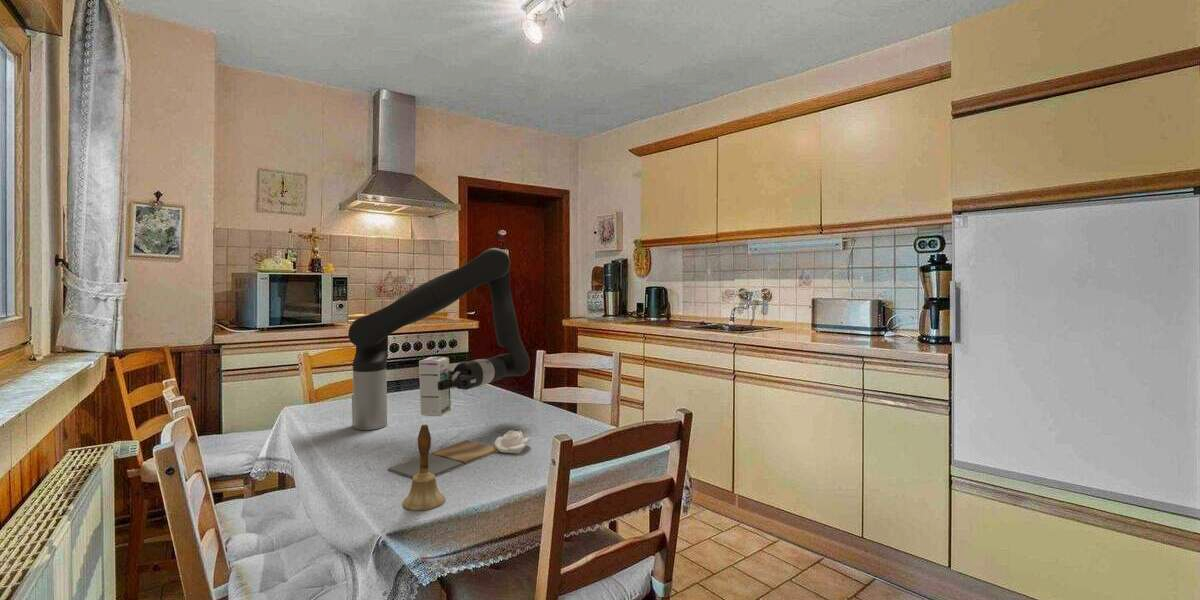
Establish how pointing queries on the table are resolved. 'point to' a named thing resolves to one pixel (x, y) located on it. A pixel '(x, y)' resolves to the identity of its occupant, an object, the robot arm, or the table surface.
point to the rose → (511, 442)
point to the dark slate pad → (434, 462)
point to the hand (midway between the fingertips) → (428, 384)
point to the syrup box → (434, 386)
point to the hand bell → (423, 479)
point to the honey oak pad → (465, 451)
